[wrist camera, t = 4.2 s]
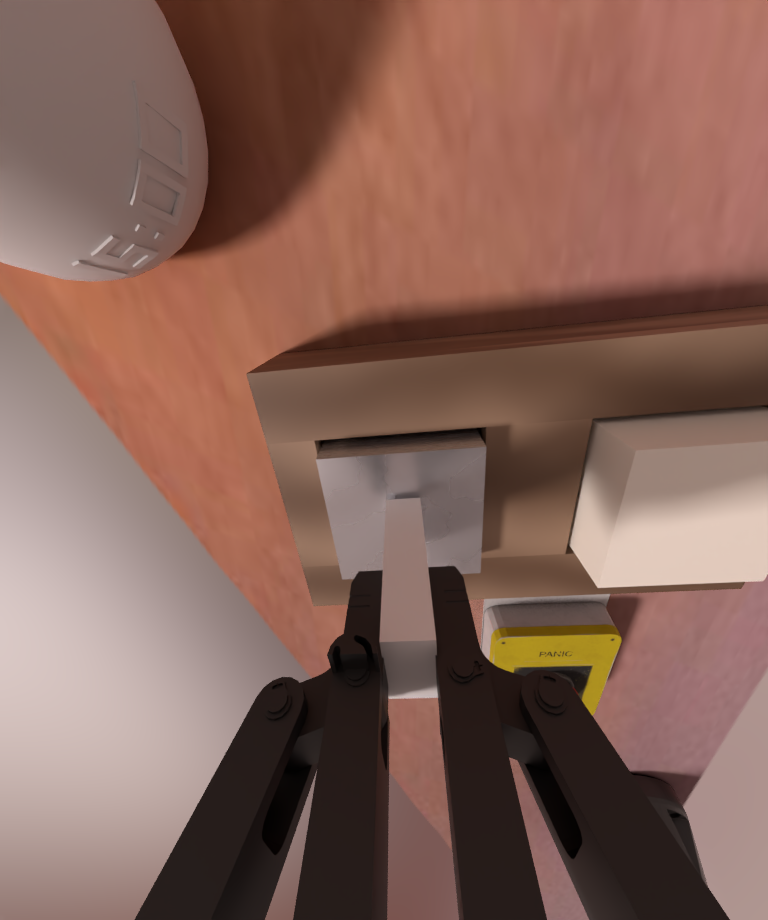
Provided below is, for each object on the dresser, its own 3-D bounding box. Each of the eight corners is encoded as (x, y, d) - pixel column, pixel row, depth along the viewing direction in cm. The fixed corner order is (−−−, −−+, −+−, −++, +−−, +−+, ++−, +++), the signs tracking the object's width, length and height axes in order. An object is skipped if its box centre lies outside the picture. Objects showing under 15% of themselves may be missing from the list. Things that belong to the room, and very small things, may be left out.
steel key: (467, 528, 20) (480, 573, 17) (350, 535, 20) (342, 579, 17) (469, 417, 16) (486, 446, 13) (330, 428, 17) (316, 459, 14)
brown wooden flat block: (679, 534, 22) (741, 588, 18) (327, 552, 24) (313, 605, 20) (771, 304, 16) (897, 311, 12) (280, 353, 18) (246, 373, 14)
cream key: (701, 530, 18) (763, 580, 15) (564, 537, 18) (597, 587, 15) (755, 403, 14) (850, 435, 11) (587, 417, 15) (636, 450, 12)
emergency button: (486, 745, 29) (499, 632, 22) (476, 690, 32) (483, 579, 26) (599, 744, 28) (648, 628, 21) (574, 688, 32) (609, 575, 25)
